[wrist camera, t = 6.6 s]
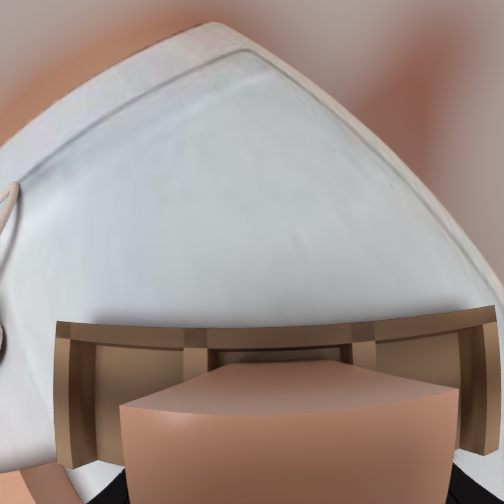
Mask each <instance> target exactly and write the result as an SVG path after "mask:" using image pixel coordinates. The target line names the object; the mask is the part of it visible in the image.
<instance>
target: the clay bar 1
mask: <svg viewBox="0 0 504 504" xmlns="http://www.w3.org/2000/svg"><path fill="white" fill-rule="evenodd" d="M0 504H83V503H82V501H81V499H80V498H79V496H78V494H77V492H76V491H75V489H74V487H73V485H72V483H71V482H70V480H69V478H68V476H67V474H66V472H65V470H64V468H63V466H62V465H59V464H58V463H57V461H54V462H50V463H47V464H43V465H39V466H34V467H30V468H26V469H21V470H17V471H12V472H7V473H1V474H0Z"/></svg>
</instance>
